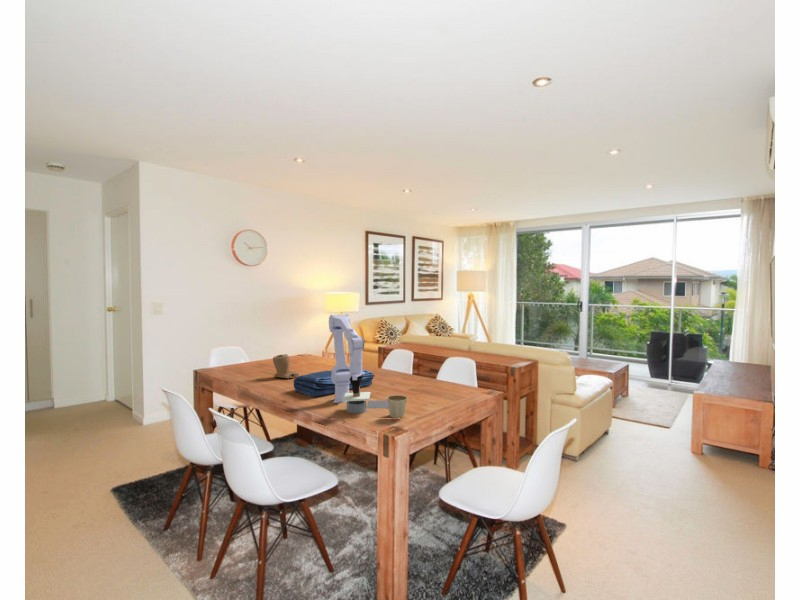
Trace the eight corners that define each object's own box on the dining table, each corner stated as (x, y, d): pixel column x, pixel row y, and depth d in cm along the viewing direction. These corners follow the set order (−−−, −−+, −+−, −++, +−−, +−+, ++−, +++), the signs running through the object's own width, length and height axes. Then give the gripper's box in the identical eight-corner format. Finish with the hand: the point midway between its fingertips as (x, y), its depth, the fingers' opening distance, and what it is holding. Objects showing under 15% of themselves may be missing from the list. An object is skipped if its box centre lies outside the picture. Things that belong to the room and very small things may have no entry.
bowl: (347, 408, 201) (347, 399, 201) (366, 408, 201) (366, 399, 201) (345, 414, 192) (345, 404, 192) (365, 414, 192) (365, 404, 192)
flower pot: (407, 413, 194) (407, 394, 194) (408, 420, 184) (408, 400, 184) (386, 413, 194) (386, 395, 193) (386, 420, 184) (386, 400, 184)
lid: (345, 394, 203) (345, 384, 202) (370, 393, 203) (370, 383, 203) (342, 401, 191) (341, 390, 190) (368, 400, 191) (368, 389, 191)
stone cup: (269, 378, 269) (268, 354, 268) (283, 374, 279) (283, 352, 278) (285, 381, 260) (285, 356, 260) (299, 377, 271) (299, 354, 270)
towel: (375, 385, 250) (375, 368, 249) (314, 399, 220) (314, 379, 219) (350, 379, 266) (350, 363, 266) (290, 391, 236) (290, 373, 236)
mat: (368, 401, 213) (368, 400, 213) (394, 401, 213) (394, 400, 213) (366, 409, 200) (366, 408, 200) (394, 409, 201) (394, 408, 200)
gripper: (363, 366, 189) (363, 396, 189) (366, 360, 203) (366, 388, 204) (347, 366, 189) (348, 396, 189) (351, 360, 203) (351, 388, 204)
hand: (356, 392), depth 197 cm, fingers closed on lid, 3 cm apart
